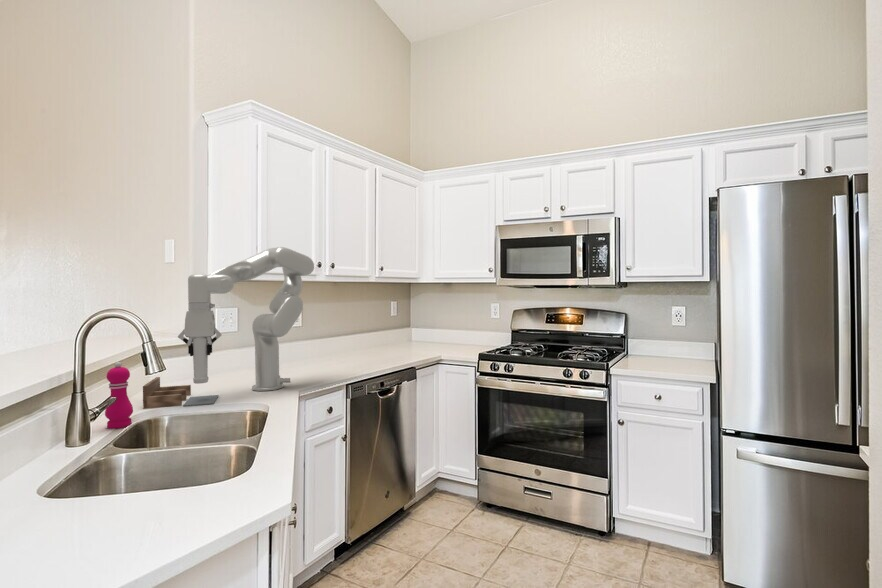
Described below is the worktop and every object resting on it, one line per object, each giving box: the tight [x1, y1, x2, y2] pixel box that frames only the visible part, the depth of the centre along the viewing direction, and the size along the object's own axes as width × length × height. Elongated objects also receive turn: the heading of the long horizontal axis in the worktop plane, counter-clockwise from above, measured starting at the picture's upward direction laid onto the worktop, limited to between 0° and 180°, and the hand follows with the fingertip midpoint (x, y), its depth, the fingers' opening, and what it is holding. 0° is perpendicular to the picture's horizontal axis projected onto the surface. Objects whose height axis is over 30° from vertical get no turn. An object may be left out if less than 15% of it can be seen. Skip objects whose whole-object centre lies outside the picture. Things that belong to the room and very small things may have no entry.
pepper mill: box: [104, 361, 134, 430], centre depth 146 cm, size 7×7×20 cm
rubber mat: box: [182, 394, 220, 408], centre depth 177 cm, size 10×14×1 cm
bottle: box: [192, 337, 209, 384], centre depth 177 cm, size 5×5×25 cm
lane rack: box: [142, 376, 192, 410], centre depth 178 cm, size 12×19×8 cm, turn 18°
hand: (200, 354), depth 177 cm, fingers closed on bottle, 5 cm apart
